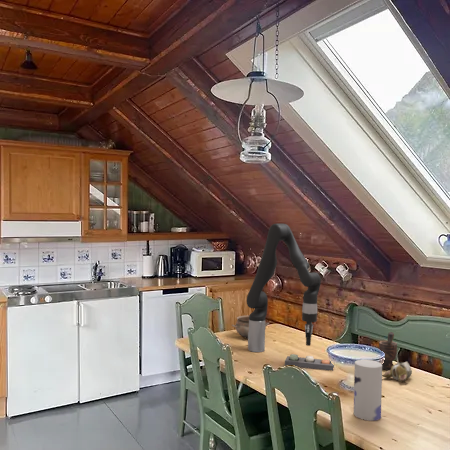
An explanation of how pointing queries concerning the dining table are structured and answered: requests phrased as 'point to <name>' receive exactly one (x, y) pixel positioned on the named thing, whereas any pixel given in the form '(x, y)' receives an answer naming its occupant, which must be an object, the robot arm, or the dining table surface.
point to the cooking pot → (243, 326)
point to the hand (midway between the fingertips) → (308, 345)
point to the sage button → (294, 357)
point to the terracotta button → (325, 362)
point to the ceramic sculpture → (399, 371)
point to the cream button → (310, 359)
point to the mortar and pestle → (388, 351)
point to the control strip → (309, 364)
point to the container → (367, 389)
